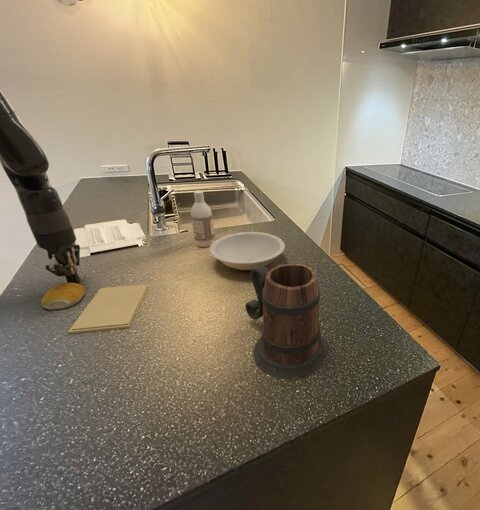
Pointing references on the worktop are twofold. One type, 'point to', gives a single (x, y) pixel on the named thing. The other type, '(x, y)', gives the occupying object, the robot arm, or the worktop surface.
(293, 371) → the tankard
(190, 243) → the worktop surface
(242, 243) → the soup bowl
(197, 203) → the bath foam
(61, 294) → the bread roll
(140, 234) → the tray
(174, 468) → the worktop surface
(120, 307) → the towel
